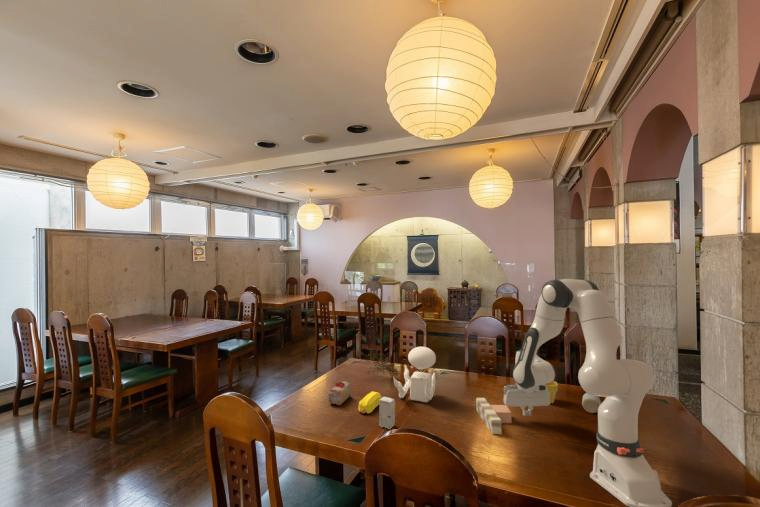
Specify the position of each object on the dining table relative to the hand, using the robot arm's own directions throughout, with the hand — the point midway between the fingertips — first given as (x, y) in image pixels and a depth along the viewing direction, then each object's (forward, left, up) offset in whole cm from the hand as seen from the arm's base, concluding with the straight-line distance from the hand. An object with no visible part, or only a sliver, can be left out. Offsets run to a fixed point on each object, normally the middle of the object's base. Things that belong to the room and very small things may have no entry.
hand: (526, 415), depth 159 cm
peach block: (+2, +12, -3) cm, 12 cm away
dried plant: (+60, +75, -3) cm, 96 cm away
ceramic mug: (+9, -36, -3) cm, 37 cm away
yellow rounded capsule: (+17, +72, -3) cm, 74 cm away
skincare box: (-3, +64, -3) cm, 64 cm away
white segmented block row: (0, +18, -2) cm, 18 cm away
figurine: (+28, +47, -3) cm, 55 cm away
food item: (+26, +88, -3) cm, 92 cm away
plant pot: (+21, -19, -3) cm, 29 cm away
